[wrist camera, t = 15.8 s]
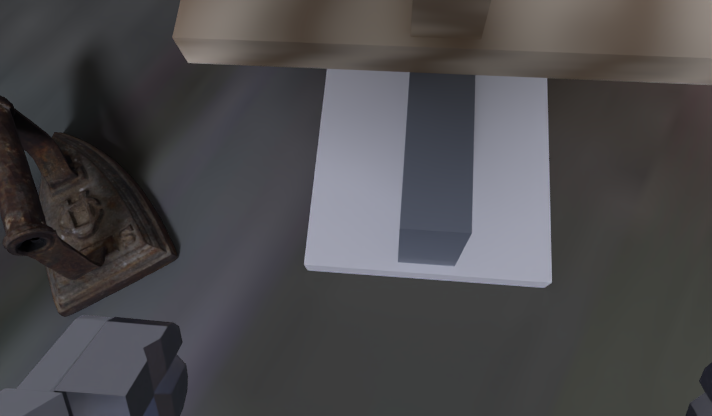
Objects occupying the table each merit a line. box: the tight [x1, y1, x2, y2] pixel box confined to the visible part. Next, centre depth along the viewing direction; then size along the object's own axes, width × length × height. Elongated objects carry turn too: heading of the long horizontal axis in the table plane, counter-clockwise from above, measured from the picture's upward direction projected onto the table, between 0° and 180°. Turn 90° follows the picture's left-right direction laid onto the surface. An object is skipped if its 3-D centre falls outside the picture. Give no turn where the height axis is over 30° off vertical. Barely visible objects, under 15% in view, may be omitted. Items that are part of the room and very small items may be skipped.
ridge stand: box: [304, 69, 552, 288], centre depth 30 cm, size 20×13×8 cm, turn 175°
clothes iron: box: [0, 96, 178, 317], centre depth 30 cm, size 7×11×10 cm, turn 29°
